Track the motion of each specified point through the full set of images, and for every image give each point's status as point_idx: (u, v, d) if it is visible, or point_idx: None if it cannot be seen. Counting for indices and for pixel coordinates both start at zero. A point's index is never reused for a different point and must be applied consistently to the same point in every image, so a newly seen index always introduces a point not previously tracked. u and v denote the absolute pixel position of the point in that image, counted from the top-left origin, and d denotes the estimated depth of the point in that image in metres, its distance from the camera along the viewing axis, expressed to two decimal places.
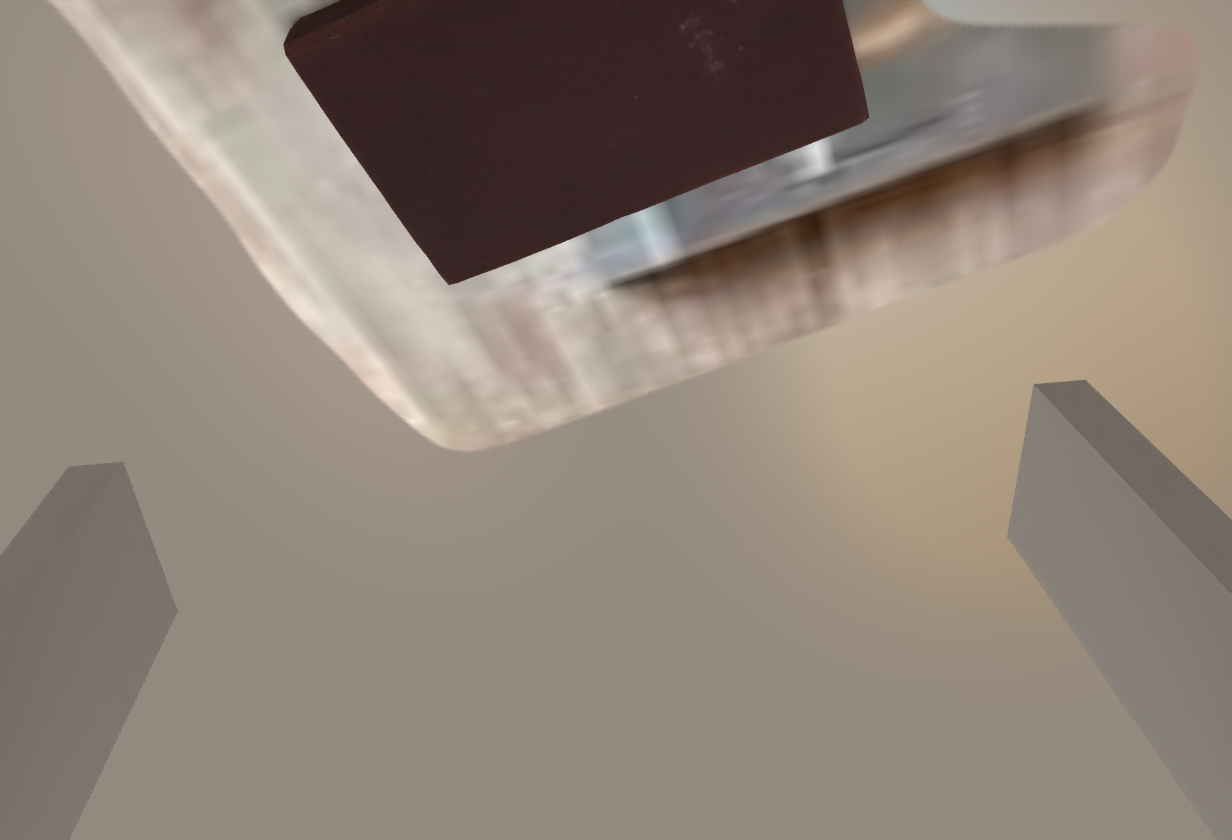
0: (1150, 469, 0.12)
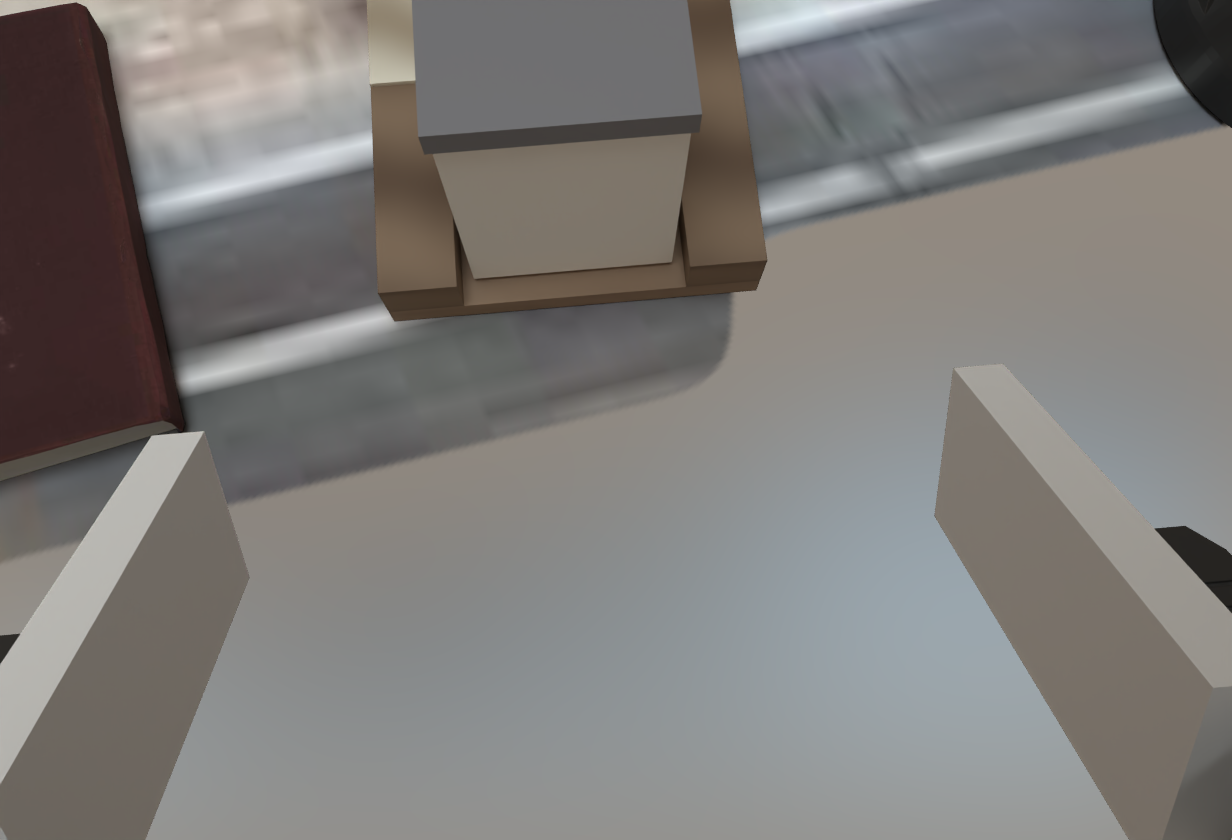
0: (1052, 446, 0.13)
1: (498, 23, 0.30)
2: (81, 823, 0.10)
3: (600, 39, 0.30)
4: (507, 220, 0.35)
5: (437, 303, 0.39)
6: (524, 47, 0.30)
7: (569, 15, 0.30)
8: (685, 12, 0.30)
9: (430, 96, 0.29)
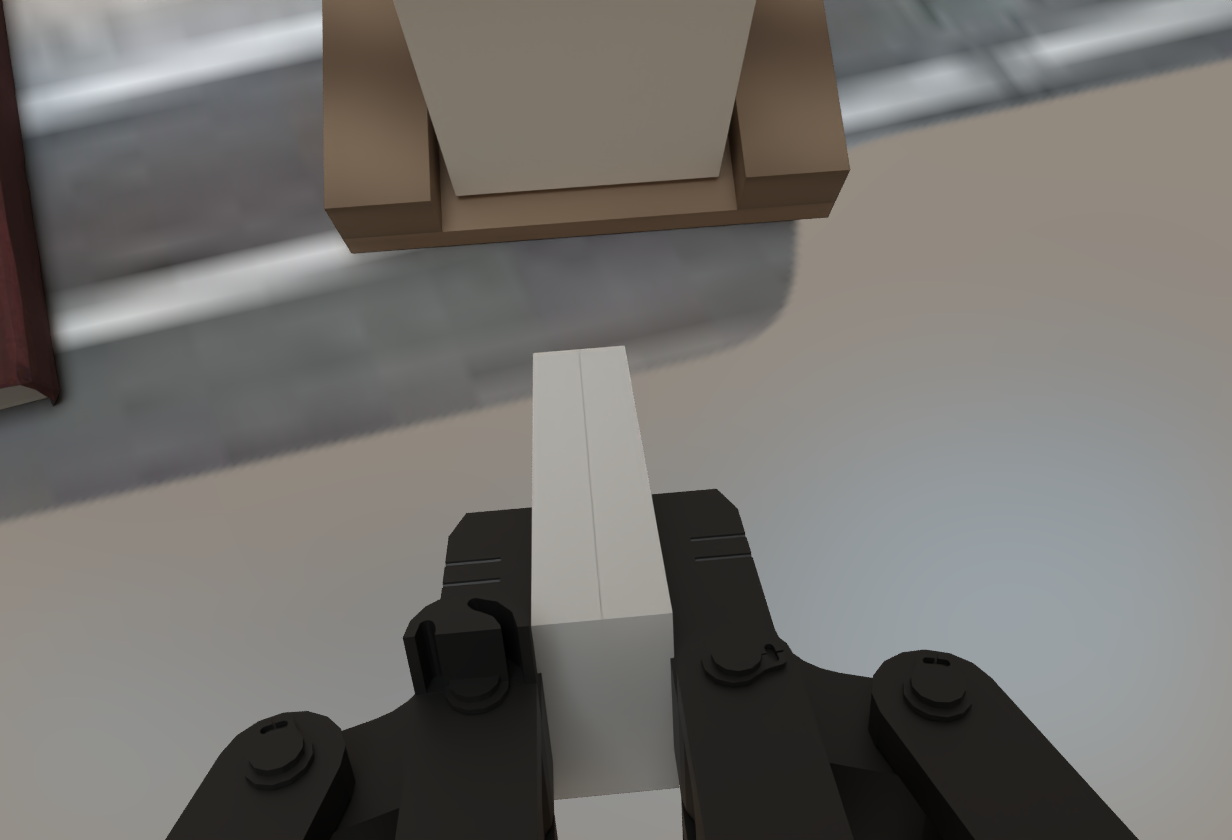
0: (614, 418, 0.14)
1: None
2: None
3: None
4: (498, 100, 0.25)
5: (406, 227, 0.29)
6: None
7: None
8: None
9: None
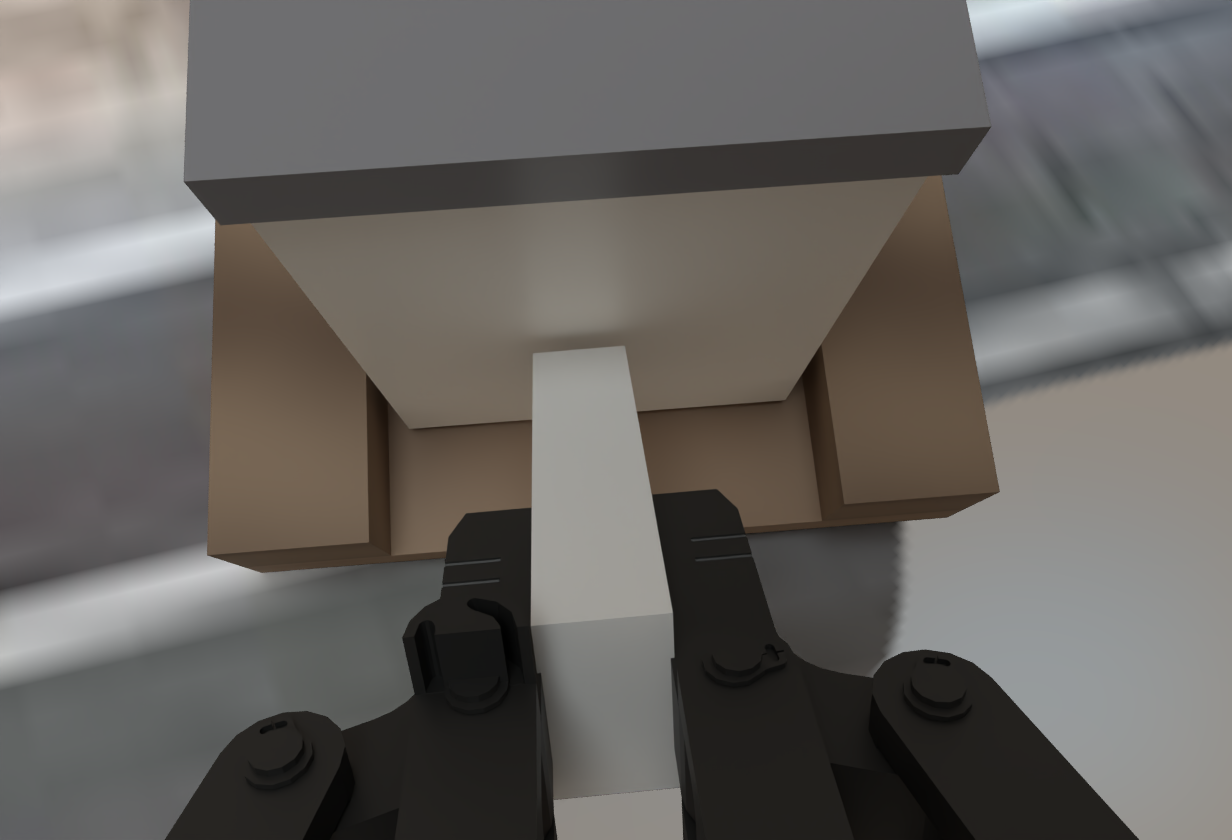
0: (614, 418, 0.14)
1: None
2: None
3: None
4: (464, 346, 0.16)
5: (337, 556, 0.20)
6: None
7: None
8: None
9: (227, 66, 0.10)
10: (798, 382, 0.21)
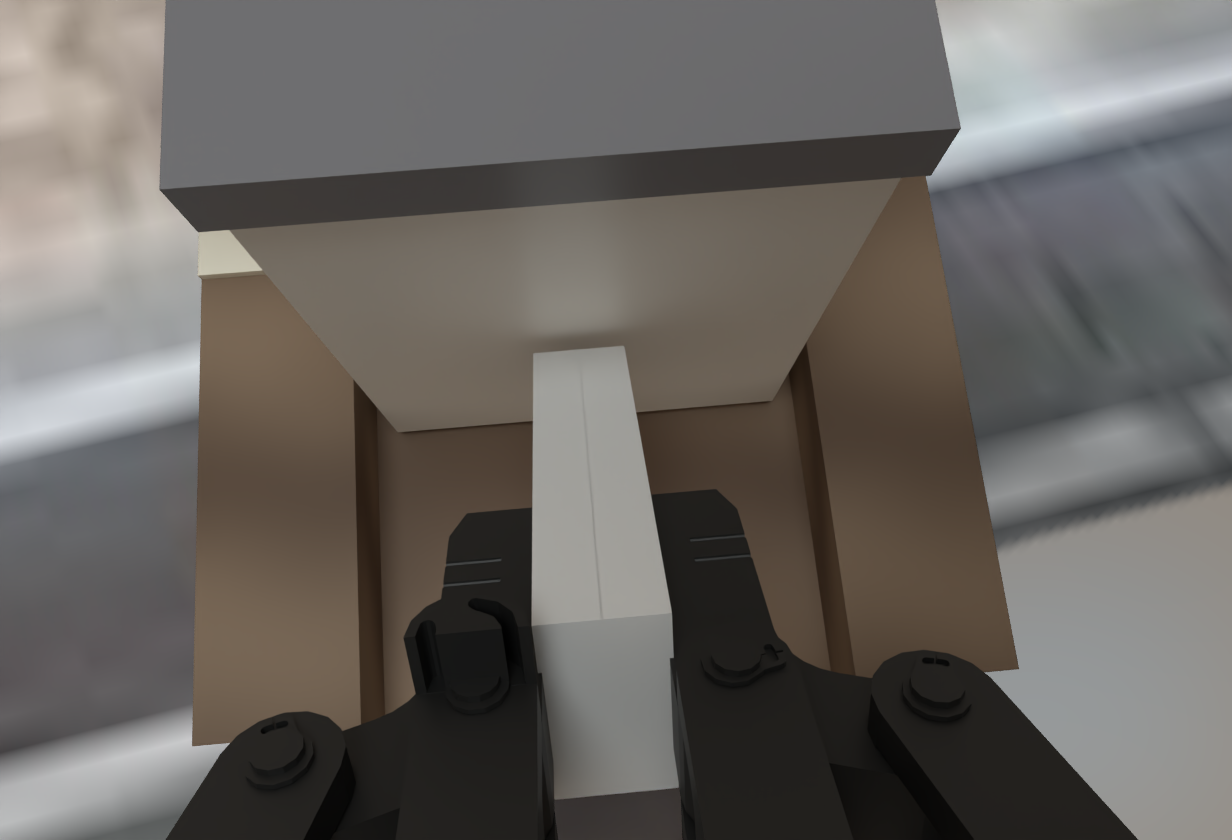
0: (613, 418, 0.14)
1: None
2: None
3: None
4: (448, 350, 0.16)
5: None
6: None
7: None
8: None
9: (203, 75, 0.11)
10: (806, 534, 0.21)
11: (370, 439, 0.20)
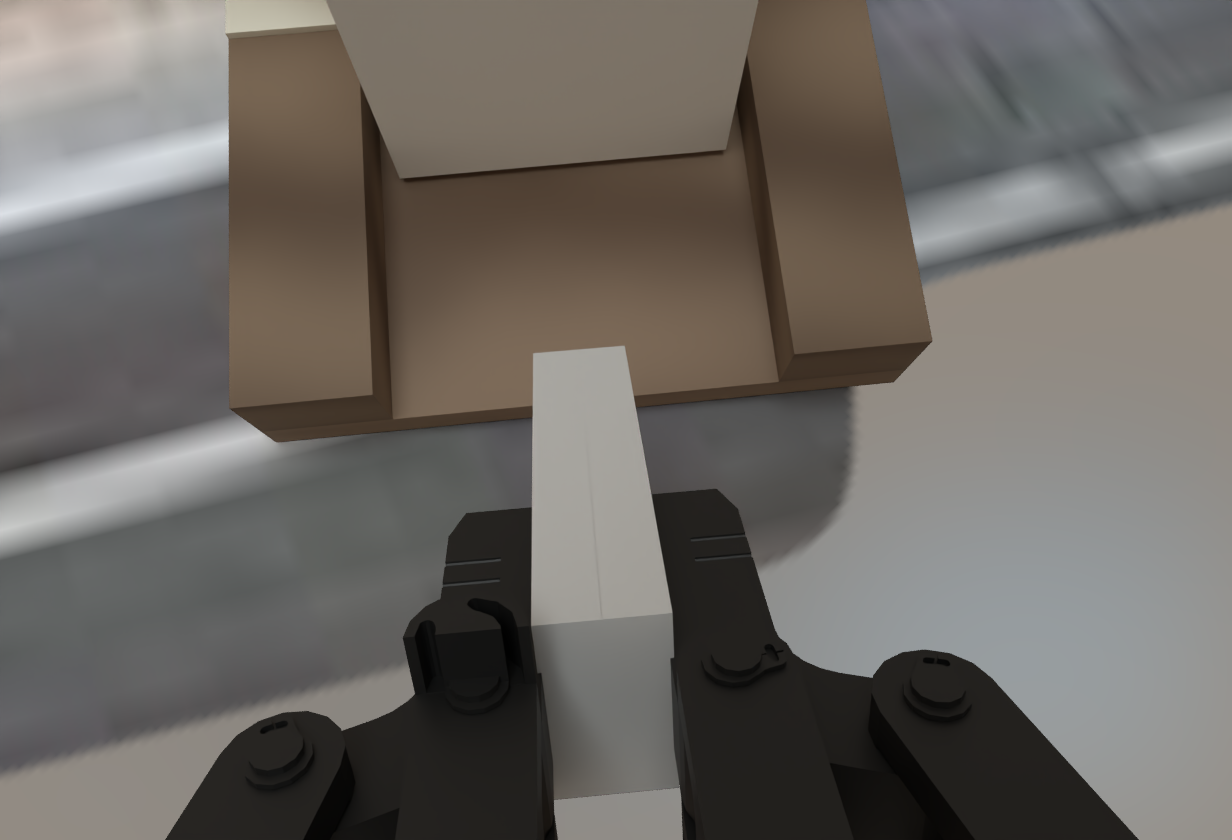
0: (614, 418, 0.14)
1: None
2: None
3: None
4: (442, 48, 0.19)
5: (344, 417, 0.22)
6: None
7: None
8: None
9: None
10: (756, 261, 0.24)
11: (376, 181, 0.24)
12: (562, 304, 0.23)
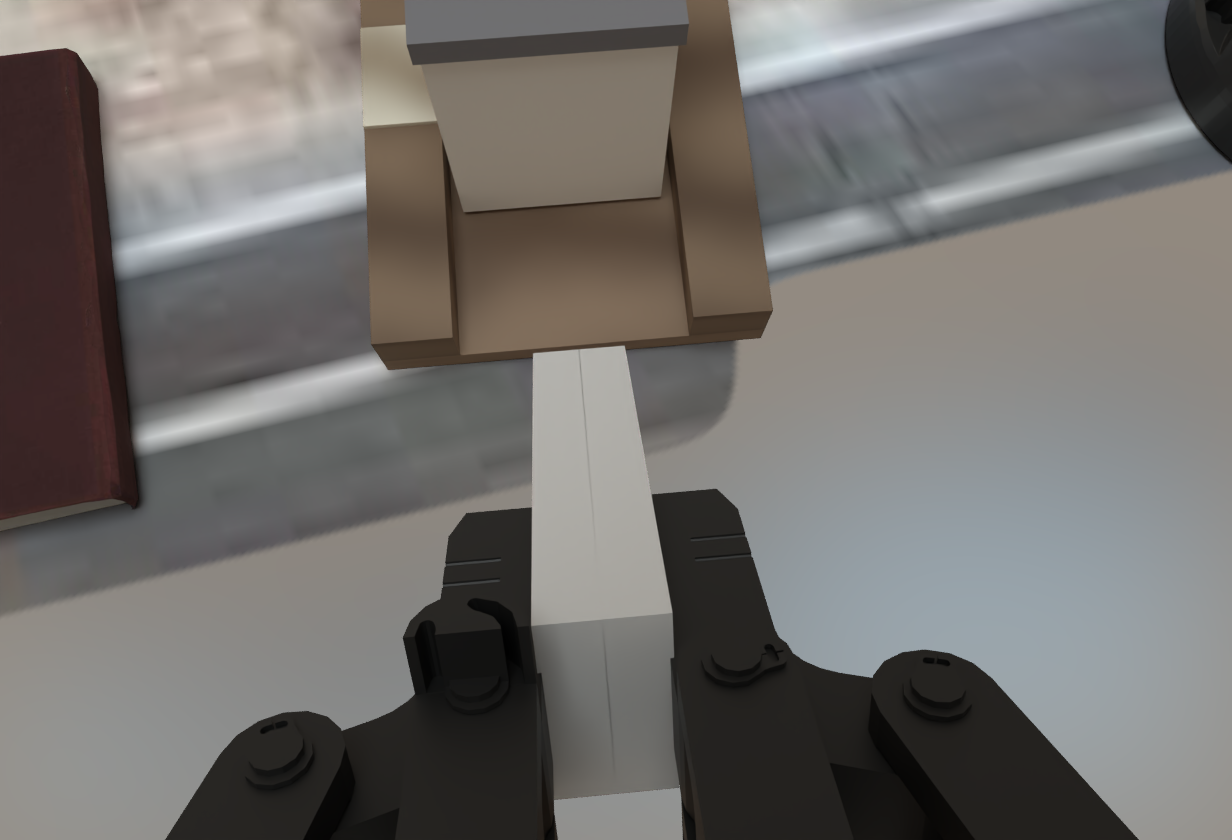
0: (614, 418, 0.14)
1: None
2: None
3: None
4: (496, 144, 0.35)
5: (432, 353, 0.38)
6: None
7: None
8: None
9: (418, 5, 0.29)
10: (677, 264, 0.40)
11: (450, 214, 0.39)
12: (561, 288, 0.39)
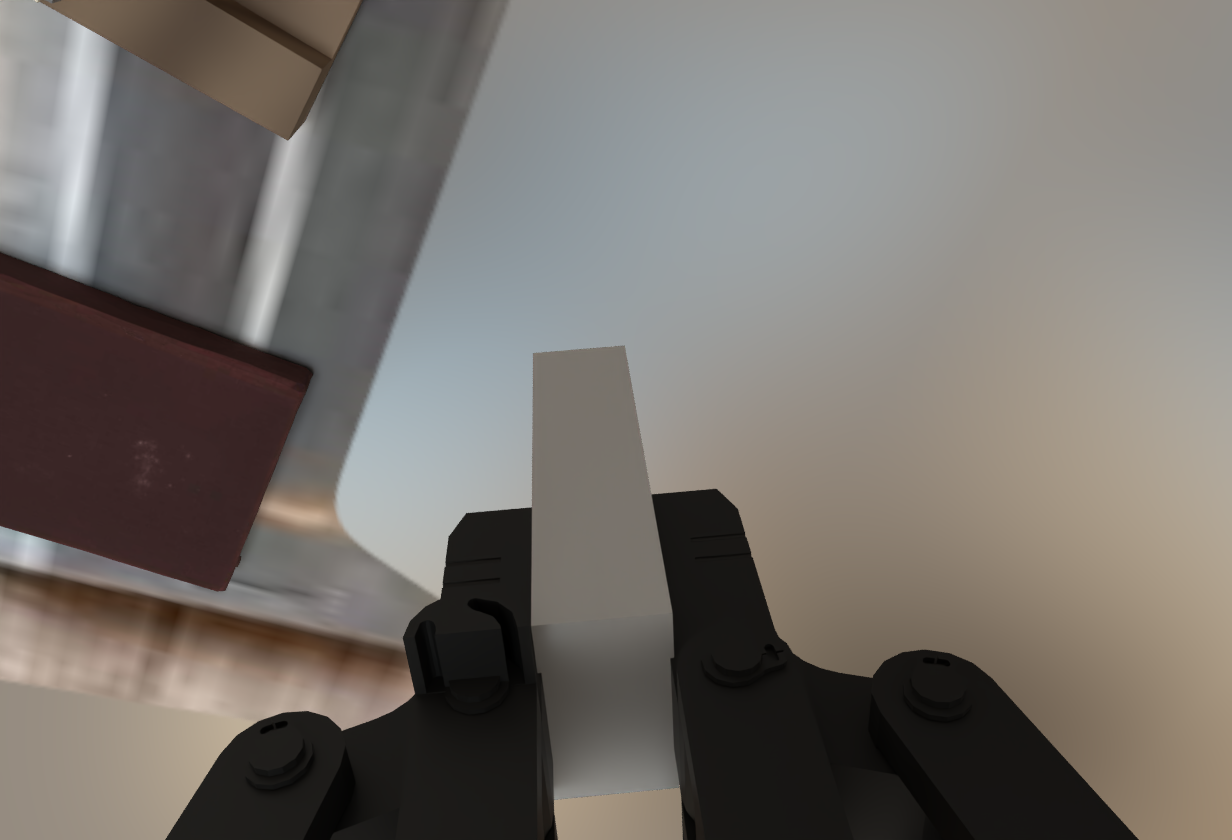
0: (614, 418, 0.14)
1: None
2: None
3: None
4: None
5: (318, 84, 0.37)
6: None
7: None
8: None
9: None
10: None
11: None
12: None
